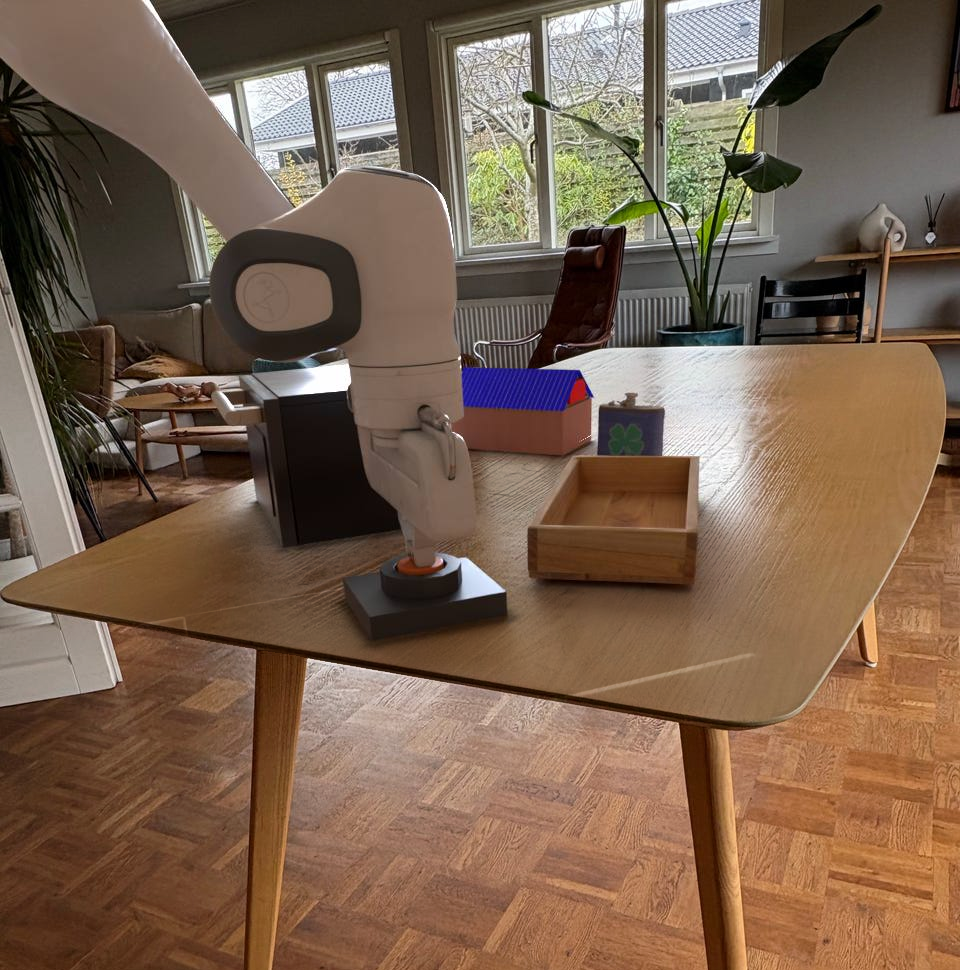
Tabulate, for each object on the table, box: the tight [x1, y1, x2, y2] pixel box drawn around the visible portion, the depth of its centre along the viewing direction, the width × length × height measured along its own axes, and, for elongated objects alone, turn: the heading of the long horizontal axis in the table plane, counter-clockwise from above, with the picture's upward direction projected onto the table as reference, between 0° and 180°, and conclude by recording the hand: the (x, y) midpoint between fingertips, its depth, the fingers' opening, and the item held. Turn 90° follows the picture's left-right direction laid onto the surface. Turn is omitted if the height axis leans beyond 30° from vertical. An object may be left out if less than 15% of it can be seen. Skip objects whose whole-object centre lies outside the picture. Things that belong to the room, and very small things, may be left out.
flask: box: [596, 392, 666, 456], centre depth 112 cm, size 9×3×11 cm, turn 61°
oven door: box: [210, 374, 298, 548], centre depth 97 cm, size 5×22×16 cm, turn 21°
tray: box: [526, 455, 700, 585], centre depth 88 cm, size 31×15×6 cm, turn 166°
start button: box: [397, 556, 444, 575], centre depth 73 cm, size 4×4×2 cm
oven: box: [251, 364, 402, 546], centre depth 100 cm, size 18×22×16 cm
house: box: [450, 366, 595, 456], centre depth 132 cm, size 12×20×12 cm, turn 61°
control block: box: [342, 552, 508, 642], centre depth 73 cm, size 12×10×4 cm
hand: (421, 561), depth 73 cm, fingers closed, pressing on start button
